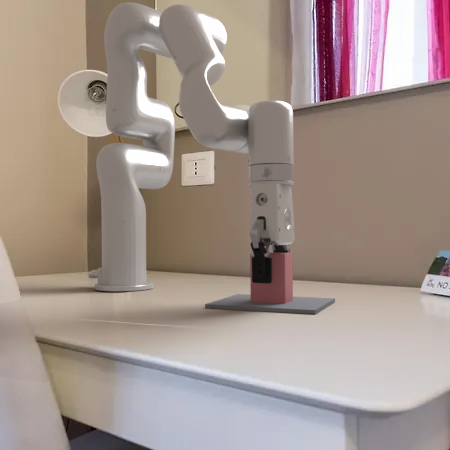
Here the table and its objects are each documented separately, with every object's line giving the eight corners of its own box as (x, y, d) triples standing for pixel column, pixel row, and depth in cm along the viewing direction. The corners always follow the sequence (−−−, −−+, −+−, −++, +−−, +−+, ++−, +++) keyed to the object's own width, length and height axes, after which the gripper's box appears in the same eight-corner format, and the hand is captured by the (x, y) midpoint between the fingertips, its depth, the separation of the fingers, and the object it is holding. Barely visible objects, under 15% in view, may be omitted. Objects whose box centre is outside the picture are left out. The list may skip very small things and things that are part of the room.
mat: (205, 307, 85) (205, 304, 85) (237, 297, 98) (237, 294, 98) (315, 314, 78) (315, 310, 78) (335, 301, 91) (334, 298, 91)
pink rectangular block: (285, 303, 85) (284, 253, 85) (250, 301, 87) (250, 253, 87) (292, 300, 88) (292, 252, 88) (259, 298, 91) (258, 252, 91)
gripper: (276, 171, 79) (277, 286, 78) (306, 180, 94) (307, 276, 94) (230, 173, 81) (231, 284, 81) (266, 182, 97) (267, 275, 97)
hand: (271, 280), depth 88 cm, fingers open, 9 cm apart
